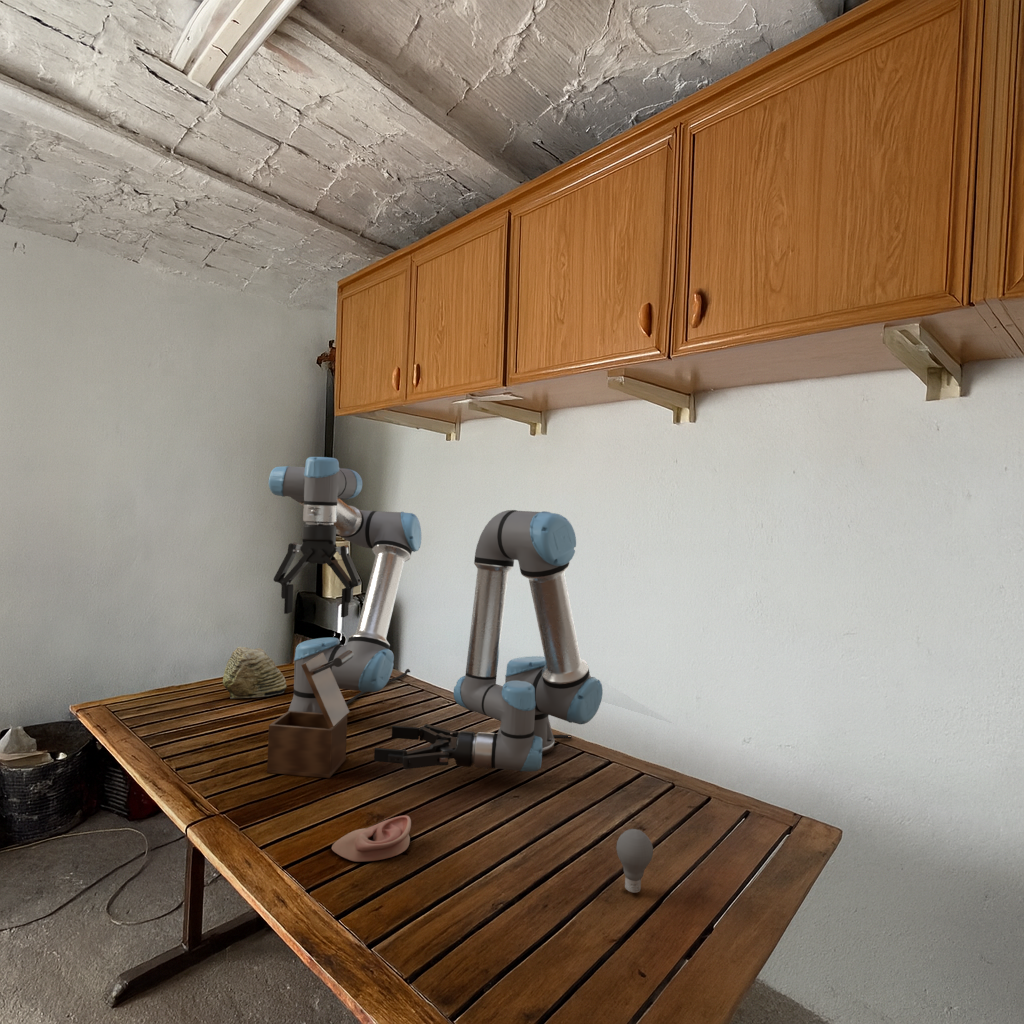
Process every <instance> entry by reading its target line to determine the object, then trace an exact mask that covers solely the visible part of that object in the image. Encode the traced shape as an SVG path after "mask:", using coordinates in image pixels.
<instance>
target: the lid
mask: <svg viewBox="0 0 1024 1024" xmlns="http://www.w3.org/2000/svg"><path fill="white" fill-rule="evenodd" d="M352 657H353V652H352V651H350V650H347V651H346V652H344V653H343V654H341V655H340V656H338V657H337V658H335V659H334V660H333V661H330V662H327V660H326V658H325V655H324V653H321V654H319V655H317V656H315V657H314V658H312V659H310V660H309V661H307V662H305V663H304V664H302V665H301V666H302V668H303V670H304V672H305V675H306V677H307V679H308V681H309V684H310V686H311V688H312V691H313V693H314V695H315V697H316V700H317V702H318V704H319V706H320V709H321V711H322V713H323V715H324V718H325V720H326V722H327V724H328V727H329V728H331V727H334V726H335V725H336V724H337V723H338V722H339V721H340V720H341V719H342V718H343V717H344V716H345V715H348V714H349V713H350V709H349V707H348V705H346V703H345V702H346V701H345V698H344V696H343V693H342V691H341V689H339V687H338V685H337V682H336V680H335V678H334V676H333V673H332V671H331V669H330V667H332V666H336V667H340V666H341V665H343V664H344V663H346V662H347V661H348V660H350V659H351V658H352Z"/></svg>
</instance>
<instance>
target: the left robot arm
mask: <svg viewBox="0 0 1024 1024" xmlns="http://www.w3.org/2000/svg"><path fill="white" fill-rule="evenodd" d="M363 484H364V483H363V479H362V476H361V475H360V473H358V472H357V471H356V470H353V469H350V468H342V467H340V462H339V459H337V458H336V457H327V456H308V457H307V458H306V460H305V465H304V466H294V465H293V466H292V465H291V466H290V465H287V466H284V465H283V466H276V467H274V468H273V469H271V471H270V473H269V478H268V487H269V490H270V492H271V493H272V494H273V495H275V496H278V497H282V498H283V497H289V498H291V499H292V500H294V501H296V502H297V503H298V504H300V505H301V506H303V509H302V511H303V513H302V521H303V522H304V523H303V525H302V533H301V534H302V536H301V539H302V543H301V544H300V543H297V542H290V543H289V544H288V546H287V553H286V555H285V557H283V560H282V562H281V564H280V566H279V567H278V569H277V571H276V573H275V575H274V577H273V582H275V583H278V584H280V585H281V589H280V591H281V592H280V595H281V596H280V597H281V599H282V600H283V599H284V606H283V607H284V608H283V609H284V610H283V613H284V614H285V615H288V614H290V613H293V605H294V604H293V603H294V584H292V581H293V580H295V578H296V577H297V576H298V574H300V572H301V571H302V570H303V569H304V568H305V567H306V566H307V565H308V564H311V565H312V564H313V565H314V564H318V565H327V566H328V567H329V568H330V569H331V570H332V572H333V573H334V574H335V576H336V577H337V579H338V580H339V581H340V582H341V583H342V585H343V586H344V588H341V605H340V606H341V607H340V618H346V617H348V616H349V605H350V603H352V602H353V600H354V588H356V587H359V586H361V585H362V580H361V577H360V575H359V573H358V571H357V569H356V566H355V564H354V561H353V559H352V557H351V554H350V552H351V551H350V546H349V545H347V544H346V545H340V546H337V543H336V541H337V536H339V537H341V538H342V539H344V540H345V541H348V542H349V543H352V544H354V545H356V546H359V547H362V548H365V549H371V552H372V553H373V555H374V556H375V557H374V560H373V565H372V569H371V572H370V576H369V581H368V585H367V588H366V592H365V596H364V598H363V605H362V607H361V611H360V615H359V620H358V622H357V627H356V631H355V633H353V634H351V635H350V636H348V640H347V643H346V645H345V644H340V643H341V641H340V639H339V638H338V637H334V636H333V637H318V638H313V639H307V640H304V641H302V642H299V643H298V644H297V645H296V647H295V652H294V653H295V654H294V659H293V661H294V672H293V695H292V696H293V697H292V699H291V702H290V704H289V708H288V711H300V712H313V713H322V711H321V709H320V706H319V704H318V702H317V700H316V697H315V695H314V693H313V691H312V688H311V686H310V684H309V681H308V679H307V677H306V675H305V672H304V670H303V668H302V666H301V665H302V664H304V663H305V662H307V661H309V660H310V659H312V658H314V657H315V656H317V655H319V654H321V653H324V655H325V658H326V660H327V662H330V661H333V660H334V659H335V658H337V657H338V656H340V655H341V654H343V653H344V652H346V651H347V650H350V651H352V652H353V657H352V658H351V659H350V660H348V661H347V662H346V663H344V664H343V665H341V666H340V667H336V666H332V667H330V669H331V671H332V673H333V676H334V678H335V680H336V682H337V685H338V687H339V689H340V690H347V691H357V692H359V693H357V694H356V695H354V696H353V697H351V698H350V699H349V700H348V701H345V703H346V705H347V706H348V705H350V704H351V703H352V702H354V701H356V699H358V698H360V697H361V696H363V695H365V694H366V693H377V692H380V691H381V690H383V689H384V687H385V686H386V685H388V684H391V683H393V682H395V681H397V680H399V679H401V678H403V677H405V676H407V675H408V673H411V670H410V669H409V668H406V669H405V671H404V672H403V673H402V674H400V675H398V676H396V677H393V678H391V677H392V676H391V675H392V673H393V671H394V666H395V665H394V661H395V655H394V653H393V651H392V650H390V648H391V644H390V643H389V641H388V640H387V636H388V632H389V628H390V625H391V619H392V616H393V611H394V606H395V602H396V599H397V594H398V591H399V586H400V582H401V577H402V573H403V569H404V565H405V563H406V562H408V561H410V559H411V557H412V552H413V553H415V552H418V551H419V550H420V549H421V545H422V528H421V527H422V526H421V523H420V520H419V518H418V516H417V515H416V514H415V513H413V512H404V511H382V510H365V509H359V508H358V507H356V506H354V505H348V504H347V503H345V502H344V501H343V500H350V499H354V498H356V497H357V496H359V494H360V493H361V491H362V489H363ZM299 552H301V553H302V556H301V558H299V560H298V562H297V563H296V564H295V565H294V566H292V568H291V569H290V567H291V565H292V563H293V562H294V560H295V557H296V556H297V553H299ZM337 553H338V555H339V556H341V560H342V562H343V565H344V567H345V569H346V571H345V570H344V569H343V567H342V566H341V564H340V563H339V561H338V559H336V557H335V555H336V554H337ZM289 569H290V570H289ZM288 571H289V572H288ZM287 572H288V573H287ZM390 678H391V679H390ZM288 711H287V712H288Z"/></svg>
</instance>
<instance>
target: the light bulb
mask: <svg viewBox="0 0 1024 1024" xmlns="http://www.w3.org/2000/svg"><path fill="white" fill-rule="evenodd" d="M615 849H616V854H617V857H618V859H619V861H620V863H621V865H622V867H623V873H624V874H623V875H624V876H625V878H624V888H625V890H627V891H628V892H630V893H634V894H635V893H639V892H640V891H641V889H642V887H641V886H642V879H643V877H644V875H645V871H646V868H647V867H648V866H649V864H650V863H651V861H652V859H653V855H654V847H653V843H652V841H651V838H649V836H648V835H647V834H646V833H645V832H643V831H642V830H641V829H636V828H629V829H627V830H625V831H623V832H622V833H621V834H620V835H619V837H618V839H617V841H616V847H615Z"/></svg>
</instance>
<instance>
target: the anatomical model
mask: <svg viewBox="0 0 1024 1024" xmlns="http://www.w3.org/2000/svg"><path fill="white" fill-rule="evenodd" d="M411 828H412V820H411V817H410V816H409V815H406V814H405V815H399V816H395V817H392V818H389V819H386V820H383V821H380V822H378V823H377V824H374V825H372V826H369V827H365V828H364V827H363V828H359V829H355V830H352V831H351V832H348V833H346V834H345V835H343V836H342V837H340V838H338V840H336V841H335V842H334V843H333V844H332V845H331V850H332V852H334V853H335V854H337V855H338V856H340V857H341V858H343V859H345V860H348V861H351V862H354V863H356V862H357V863H361V862H364V863H365V862H374V861H380V860H381V861H382V860H385V859H386V860H387V859H389V858H393V857H395V856H398V855H400V854H403V852H405V851H406V850H407V849H408V848H409V845H410V842H411V837H410V832H411Z"/></svg>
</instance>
